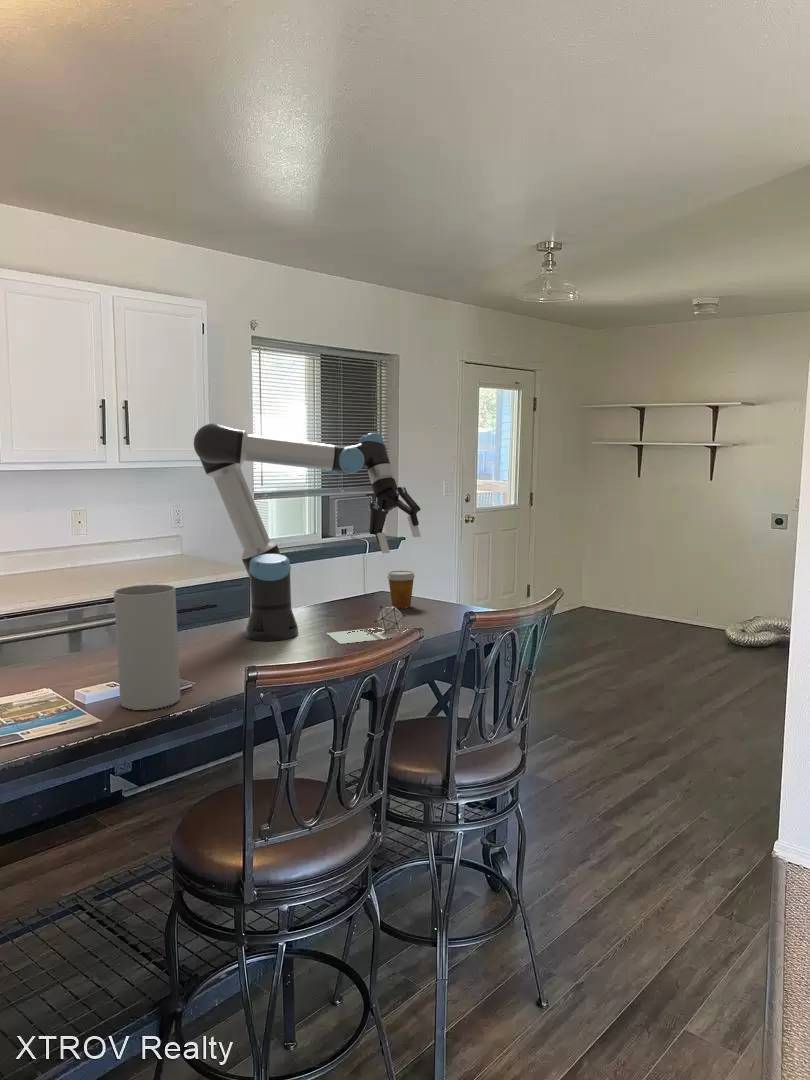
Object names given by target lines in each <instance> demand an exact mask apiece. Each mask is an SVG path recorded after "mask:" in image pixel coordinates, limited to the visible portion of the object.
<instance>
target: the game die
mask: <svg viewBox="0 0 810 1080" xmlns="http://www.w3.org/2000/svg"><path fill="white" fill-rule="evenodd" d="M395 606H396V604H394V606H392V605H391V606H384V607H382V605H379V607H380V610H379V614H378V616H377V619H376V620H374V621H373V622H374V623H378V625H379V626H380V627H382V628H383V629H384V630H385V633H386V631H391V630H399V631H400V629H399V628H400V625H401V626H402V622H403V619H404V617H406V616H407V614H403V613H402V612H401V611H400V609H399V608H396V607H395Z"/></svg>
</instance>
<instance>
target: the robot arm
mask: <svg viewBox="0 0 810 1080" xmlns="http://www.w3.org/2000/svg"><path fill="white" fill-rule="evenodd" d="M358 441H359V443H357V444H355V445H348V446H343V445H334V444H328V443H327V444H326V443H318V442H312V441H311V442H310V441H305V440H304V441H303V440H302V441H301V440H297V439H296V440H295V439H286V438H280V437H273V436H272V437H271V436H263V435H256V434H248V433H247V432H246V431H245V430H243V429H238V428H232V427H229V426H225V425H222V424H220V423H208V424H205V425H203V426H202V427H200V428H199V429H198V430H197V432H196V433H195V435H194V438H193V449H194V451H195V453H196V455H197V456H198V458H199V460H200V462H201V465H202V467H203V470H204V472H205V475H206V476H208V477H210V478H212V479H213V481H214V483H215V485H216V487H217V490H218V492H219V495H220V497H221V500H222V502H223V504H224V506H225V509H226V511H227V514H228V516H229V519H230V521H231V523H232V526H233V529H234V530H235V533H236V536H237V538H238V541H239V543H240V546H241V548H242V550H243V552H242V554H241V560H242V564H243V565H244V567H245V570H246V573H247V576H248V578H249V582H250V584H249V585H250V603H251V604H250V605H251V607H250V608H251V611H250V614H249V618H248V622H247V624H246V628H245V635H246V638H247V639H249V640H254V641H258V642H259V641H262V642H264V641H265V642H273V641H282V640H287V639H291V638H294V637H296V636H298V635H299V626H298V623H297V621H296V618H295V616H294V615H295V614H294V613H293V612H294V611H293V609H292V591H291V590H292V589H291V588H292V587H291V586H292V584H291V571H292V568H291V567H292V566H291V561H290V559H289V557H287V556H286V555H283V554H282V553H281V550H280V549H279V546H278V544H277V543H276V542H273V541H272V540H270V538H269V534H268V532H267V530H266V528H265V525H264V523H263V520H262V517H261V516H260V513H259V510H258V508H257V505H256V503H255V500H254V497H253V495H252V492H251V490H250V488H249V486H248V483H247V481H246V478H245V476H244V474H243V471H242V465H243V463H244V462H245V461H246V462H252V463H253V462H254V463H262V464H263V463H264V464H272V465H281V466H288V467H289V466H290V467H296V468H307V469H315V470H324V471H327V472H328V473H329V474H330V475H335V474H337V475H338V474H341V473H346V474H355V473H358V472H359V471H361V470H362V469H364V468H366V470H367V474H368V476H369V482H370V483H371V488H372V491H373V495H374V497H375V498H376V502H370V504H369V507H370V521H369V534H370V535H375V537H376V540H377V544H378V545H379V547H380V551H381V554H389V553H390V552H391V551H390V548H389V544H388V541H387V537H386V534H385V532H383V531H384V527H385V523H386V522H385V521H386V518H387V514H389V512H390V511H392V510H393V509H395V508H399V509H400V510H401V511H403V512H404V513H406V514H407V521H408V524H409V528H410V530H411V534H412V538H421V537H422V536H421V532H420V528H419V525H420V524H419V519H418V516H417V514H418V513H419V512H420V511H421V507H420V506H419V505H418V503H417V502H416V501H415V500H414V499H413V498H412V496H410V495H409V493H408V491H407V488H406V487H403V486H398V485H397V481H396V479H395V476H394V472H393V468H392V465H391V461H390V457H389V453H388V451H387V447H386V444H385V441H384V438H383V436H382V435H381V434H380V433H378V432H370V433H366V434H364V435H362V436H360V438H359V440H358ZM399 496H400V497H401V498H402V499H403V501H404V502H405V503H406V504H405V503H404V502H403V501H402V500H401V499H399V498H400V497H399Z"/></svg>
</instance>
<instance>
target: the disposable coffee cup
mask: <svg viewBox="0 0 810 1080" xmlns="http://www.w3.org/2000/svg"><path fill="white" fill-rule="evenodd" d="M415 576H416V575H415V573H414V571H412V570H392V571H391V570H390V571H389V572H388V575H387V576H386V578H387V580H388V585H389V593H390V599H391V606H394V604H396V606H395V607H396V608H397V609H399V608H401V609H407V608H406V607H409V608H410V607H411V603H412V597H413V587H414V586H413V585H414V579H415Z"/></svg>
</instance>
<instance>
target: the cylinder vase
mask: <svg viewBox="0 0 810 1080" xmlns="http://www.w3.org/2000/svg"><path fill="white" fill-rule="evenodd" d="M176 598H177V596H176V587H175V586H173V585H169V584H168V585H167V584H141V585H131V586H126V587H121V588H118V589H115V590H114V591H113V599H114V617H115V633H116V635H115V636H116V651H117V666H118V667H117V669H118V684H119V685H118V687H119V702H120V705H121V707H123V708H124V707H125V708H124V709H126V708H128V709H127V710H129V709H137V710H145V709H146V710H148V709H156V710H159V709H158V708H161V709H163V708H162V707H165V708H167V707H166V706H168V707H170V706H169V705H171V706H173V705H175V704H177V703H178V702H179V700H180V699H181V681H180V661H179V660H180V658H179V640H178V639H179V638H178V635H179V634H178V618H177V599H176ZM174 703H175V704H174ZM172 704H173V705H172Z"/></svg>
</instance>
